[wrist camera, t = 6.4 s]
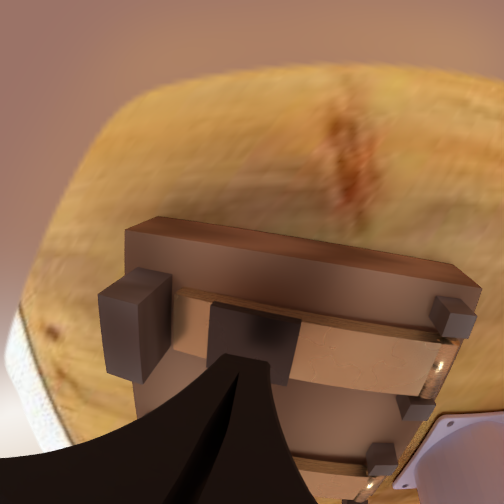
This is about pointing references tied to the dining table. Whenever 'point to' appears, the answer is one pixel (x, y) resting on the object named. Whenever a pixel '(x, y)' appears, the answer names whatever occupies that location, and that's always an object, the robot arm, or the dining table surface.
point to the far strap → (337, 479)
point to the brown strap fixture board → (288, 296)
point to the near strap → (312, 345)
